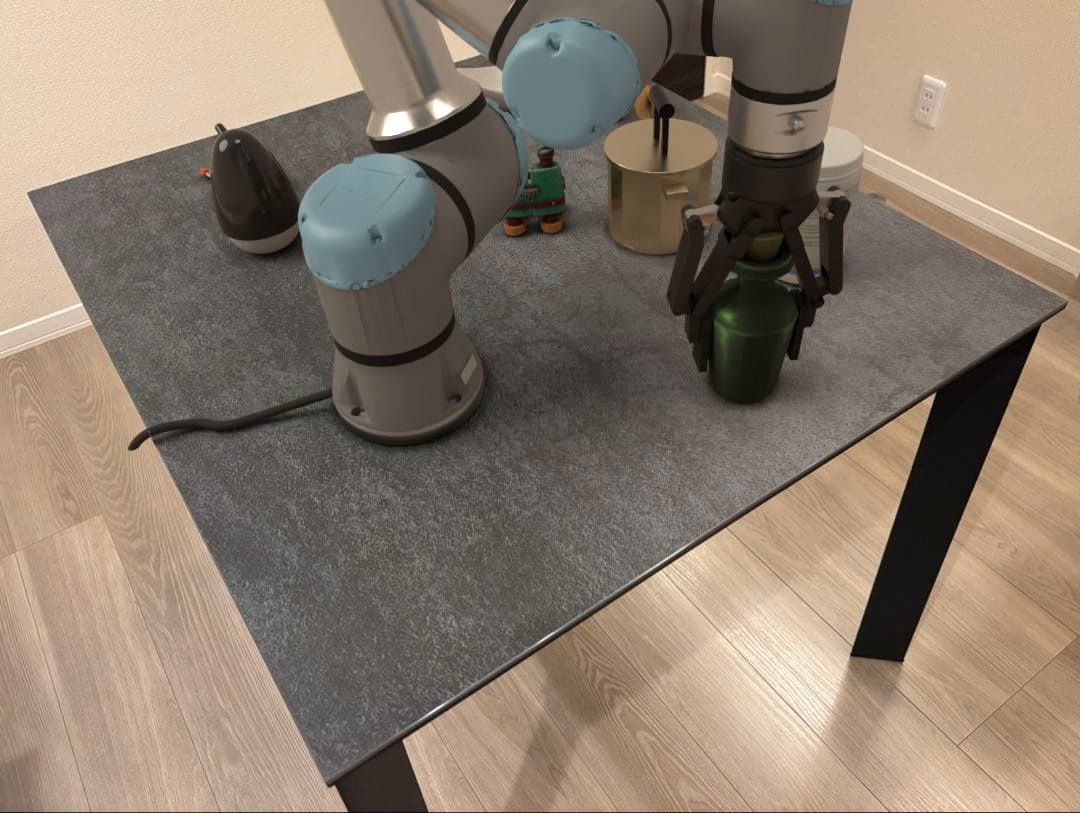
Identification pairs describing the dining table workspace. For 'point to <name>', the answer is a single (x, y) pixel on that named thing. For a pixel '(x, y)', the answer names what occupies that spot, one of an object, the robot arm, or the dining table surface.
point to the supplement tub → (839, 170)
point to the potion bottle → (752, 323)
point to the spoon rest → (488, 83)
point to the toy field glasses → (540, 196)
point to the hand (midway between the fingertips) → (744, 357)
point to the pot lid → (660, 143)
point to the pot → (653, 207)
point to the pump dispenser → (252, 193)
